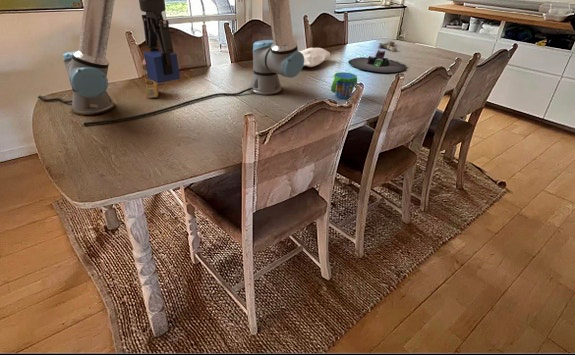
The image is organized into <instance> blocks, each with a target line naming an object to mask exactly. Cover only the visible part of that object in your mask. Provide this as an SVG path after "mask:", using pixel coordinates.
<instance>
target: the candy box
mask: <svg viewBox="0 0 575 355" xmlns="http://www.w3.org/2000/svg"><path fill="white" fill-rule="evenodd" d="M141 66H142V73H143V78H144V82H145V87H146V92H147V97H148V99H151V98H153V99H154V98H158V96H159V91H160V90H159V83H156V82H155V81H153V80H151V79H149V78H148V74H147V68H146V63H145V58H143V60H142V63H141Z"/></svg>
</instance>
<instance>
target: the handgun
mask: <svg viewBox="0 0 575 355" xmlns="http://www.w3.org/2000/svg"><path fill="white" fill-rule="evenodd" d="M395 43H396V42H395V41H393V40H389V41H386V42H384V43H383V42H379V43H378V48H380V49H381V48H384V49H386V50H390V51H392V52H396V51H397V49H398V48H397V47H395V45H396V44H395Z"/></svg>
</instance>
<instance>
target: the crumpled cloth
mask: <svg viewBox="0 0 575 355" xmlns="http://www.w3.org/2000/svg"><path fill="white" fill-rule="evenodd" d="M298 51H299V52H301V53H302V54H303V56H304V65H303V67H307V68H313V67H317V66H318V65H320V64H322V63H323V62H324V61H325V60H327V59H328V58H330V56H331V52H330V51H328V50H326V49H325V48H322V47H308V48H306V49H303V50H298Z"/></svg>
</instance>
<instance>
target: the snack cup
mask: <svg viewBox="0 0 575 355" xmlns="http://www.w3.org/2000/svg"><path fill="white" fill-rule="evenodd" d="M333 78H334V79H333V81H332V83H331V88H330V91H331V92H332V93H335V97H337V98H339V99H345V100H347V99H350V98H351V97H350V95H351V93H352V94H353V91H354V88H356V87H355V85H356V84H357V85H358V76H357V74H354V73H352V72H345V71H343V72H342V71H339V72H336V73H334V74H333ZM351 96H352V95H351ZM349 97H350V98H349Z"/></svg>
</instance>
